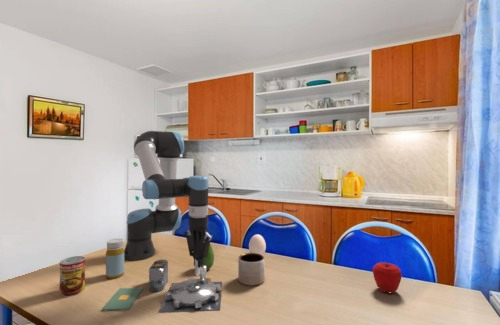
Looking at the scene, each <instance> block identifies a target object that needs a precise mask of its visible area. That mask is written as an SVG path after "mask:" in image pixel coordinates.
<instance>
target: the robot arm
mask: <svg viewBox="0 0 500 325" xmlns="http://www.w3.org/2000/svg"><path fill="white" fill-rule="evenodd" d="M133 150H134V154H135V156H137V157H138V160H139V163H140V167H141V169H142V173H143V176H144V181H143V182H142V185H141V186H142V187H141V188H142V189H141V192H142V196H143V199H145V200H158V204H157V205H156V206H155V209H154V210H152V209H151V208H140V209H136V210H133V211H130V212H129V213H128V214H127V216H126V218H127V219H126V225H127V227H126V231H127V232H126V236H127V238H126V244H125V247H124V260H127V261H141V260H147V259H148V258H151V257H153V256H155V254H156V249H155V248H156V247H155V246H154V243H153V240H152V235H153V234H158V233H165V232H172V231H176V230H178V229H179V228H180V226H181V223H182V211H181V209H180V208H179V207H178V205H177V204H176V198H185V197H186V198H188V215H189V216H188V227H189V228H188V230H186V231H183V232H184V236H185V238H186V243H187V247H188V248H187V250H188V253H189V256H190V257H192V259H193V266H194V276H195V277H198V276H200V266H202V265H203V259H204V258H206V257H207V254H208V250H209V246H210V244H211V241H212V239H213V237H214V236H213V234H209V229H208V225H209V216H208V215H209V187H210V186H209V185H210V184H209V178H208V176H205V175H191V176H189V177H183V178H177V166H178V165H177V164H178V160H180V159H181V158H180V157H181V155H183V154H184V152H185V142H184V138H183V136H182V134H181V133H180V132H176V131H163V130H161V131H160V130H159V131H158V130H147V131H145V132H143V133H140V135H139V136H137V138H135V141H134V144H133Z"/></svg>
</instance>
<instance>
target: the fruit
mask: <svg viewBox="0 0 500 325" xmlns="http://www.w3.org/2000/svg"><path fill="white" fill-rule="evenodd" d="M214 253H215V252H214V250H213V246H212V245H211V243H210V246H209V250H208V254H207V257H206V258H204V259H203V265H206V271H208V270H209V269H211V268H212V267H213V265H214V262H215V254H214Z"/></svg>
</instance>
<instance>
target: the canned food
mask: <svg viewBox="0 0 500 325" xmlns="http://www.w3.org/2000/svg"><path fill="white" fill-rule="evenodd" d="M85 290H86V257H85V256H83V255H82V256H81V255H75V256H74V255H73V256H69V257H65V258H64V259H61V260H60V261H59V296H61V297H65V298H69V297H73V296H77V295H79V294H82V293H83V292H85Z"/></svg>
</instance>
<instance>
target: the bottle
mask: <svg viewBox="0 0 500 325" xmlns="http://www.w3.org/2000/svg"><path fill="white" fill-rule="evenodd" d="M124 250H125V247H124V240H123V238H112V239H109V240H107V241H106V251H105V277H106V278H108V279H111V280H112V279H118V278H121V277H122V276H123V275H124V274H125V259H124Z"/></svg>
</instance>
